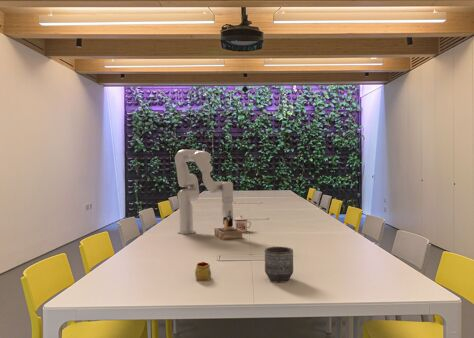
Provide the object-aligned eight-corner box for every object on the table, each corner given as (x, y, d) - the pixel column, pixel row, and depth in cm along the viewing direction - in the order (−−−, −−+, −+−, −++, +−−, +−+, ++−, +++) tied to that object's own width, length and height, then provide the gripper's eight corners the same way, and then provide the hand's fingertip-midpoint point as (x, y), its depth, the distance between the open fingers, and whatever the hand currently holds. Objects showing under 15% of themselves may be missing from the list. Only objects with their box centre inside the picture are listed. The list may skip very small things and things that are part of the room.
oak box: (214, 235, 271) (214, 227, 271) (233, 234, 276) (233, 226, 276) (222, 240, 255) (222, 231, 255) (242, 238, 260) (242, 230, 260)
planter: (276, 273, 178) (276, 245, 177) (299, 278, 169) (298, 249, 169) (259, 279, 169) (258, 250, 169) (281, 285, 160) (281, 254, 160)
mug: (209, 281, 168) (209, 265, 168) (194, 281, 168) (193, 265, 168) (213, 273, 180) (213, 258, 180) (198, 273, 180) (198, 258, 180)
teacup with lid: (234, 232, 283) (234, 216, 282) (235, 230, 292) (235, 214, 291) (251, 232, 281) (250, 216, 281) (251, 230, 291) (251, 214, 290)
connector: (224, 235, 267) (224, 218, 267) (229, 234, 268) (229, 218, 268) (226, 236, 263) (226, 219, 263) (231, 235, 265) (231, 219, 264)
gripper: (218, 199, 272) (218, 224, 272) (226, 201, 256) (226, 227, 256) (228, 198, 275) (229, 223, 275) (237, 200, 258) (237, 226, 259)
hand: (228, 225), depth 265 cm, fingers open, 9 cm apart
